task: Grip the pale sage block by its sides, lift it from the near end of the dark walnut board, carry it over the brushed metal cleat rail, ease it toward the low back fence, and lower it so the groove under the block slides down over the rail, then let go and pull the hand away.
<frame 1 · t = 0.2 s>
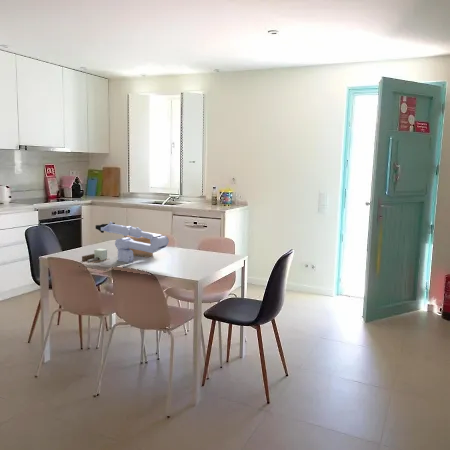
hand: (100, 226, 293), 21 cm above the table, tool horizontal, fingers open, 7 cm apart
sage block: (100, 258, 288), point 1 cm above the table, touching cleat board
cleat board: (96, 262, 285), on the table
pottery: (140, 255, 310), on the table
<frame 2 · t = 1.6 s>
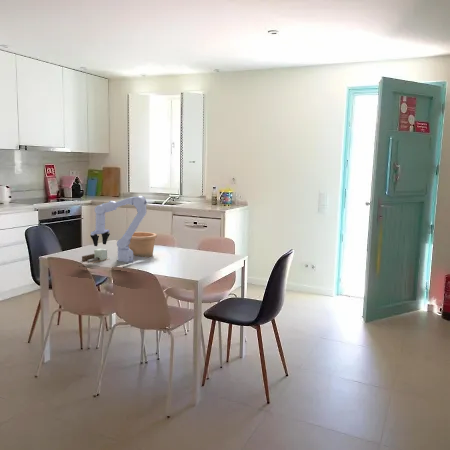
hand: (100, 245, 287), 10 cm above the table, tool pointing down, fingers open, 7 cm apart
nothing on the table moved.
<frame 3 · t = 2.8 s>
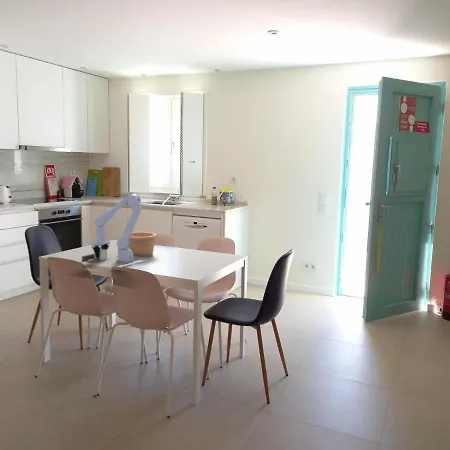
hand: (100, 256, 288), 3 cm above the table, tool pointing down, fingers closed on sage block, 5 cm apart
sage block: (100, 258, 288), point 1 cm above the table, touching cleat board, gripper
everything else where it was.
when the fingers open (4 cm above the table, at t = 7.3 s): sage block stays where it is, resting on cleat board.
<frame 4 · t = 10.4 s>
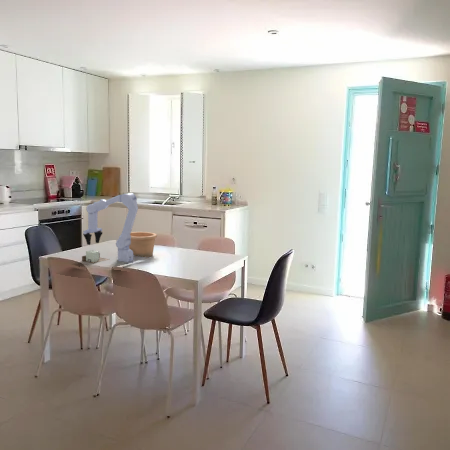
hand: (93, 243, 290), 10 cm above the table, tool pointing down, fingers open, 7 cm apart
sage block: (92, 260, 282), point 1 cm above the table, touching cleat board
everything else where it was.
at the end: sage block 0.2 cm from the target spot on the cleat board, point 1.5 cm above the cleat board's base; sage block tilted 0°; the gripper is holding nothing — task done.
